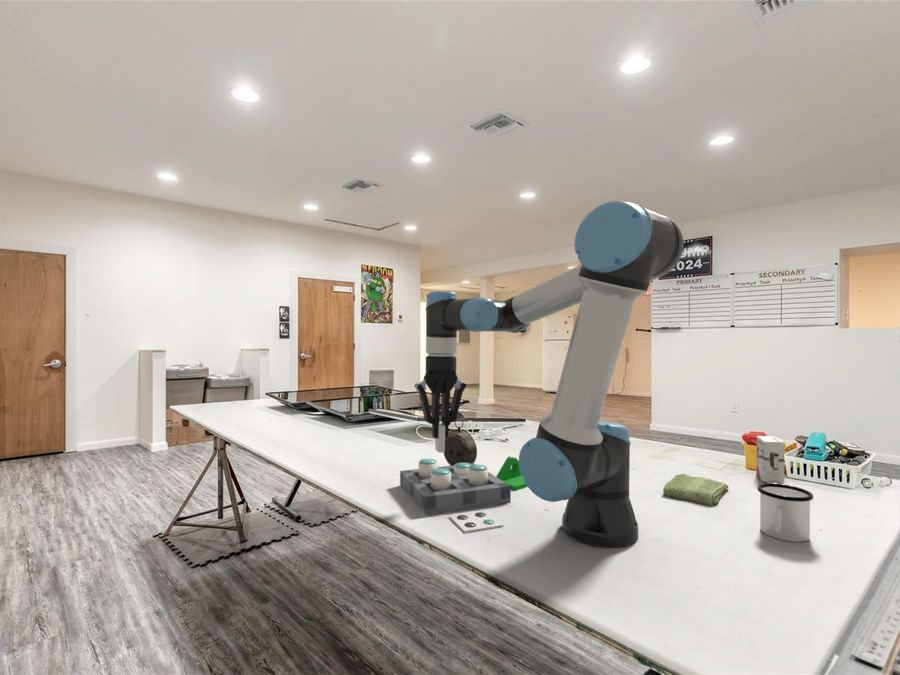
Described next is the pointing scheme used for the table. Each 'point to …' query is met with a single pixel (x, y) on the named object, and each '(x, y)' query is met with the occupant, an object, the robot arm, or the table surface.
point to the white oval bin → (785, 512)
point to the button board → (453, 492)
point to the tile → (475, 521)
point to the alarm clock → (460, 447)
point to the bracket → (512, 474)
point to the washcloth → (695, 489)
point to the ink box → (770, 459)
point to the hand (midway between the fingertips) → (440, 450)
